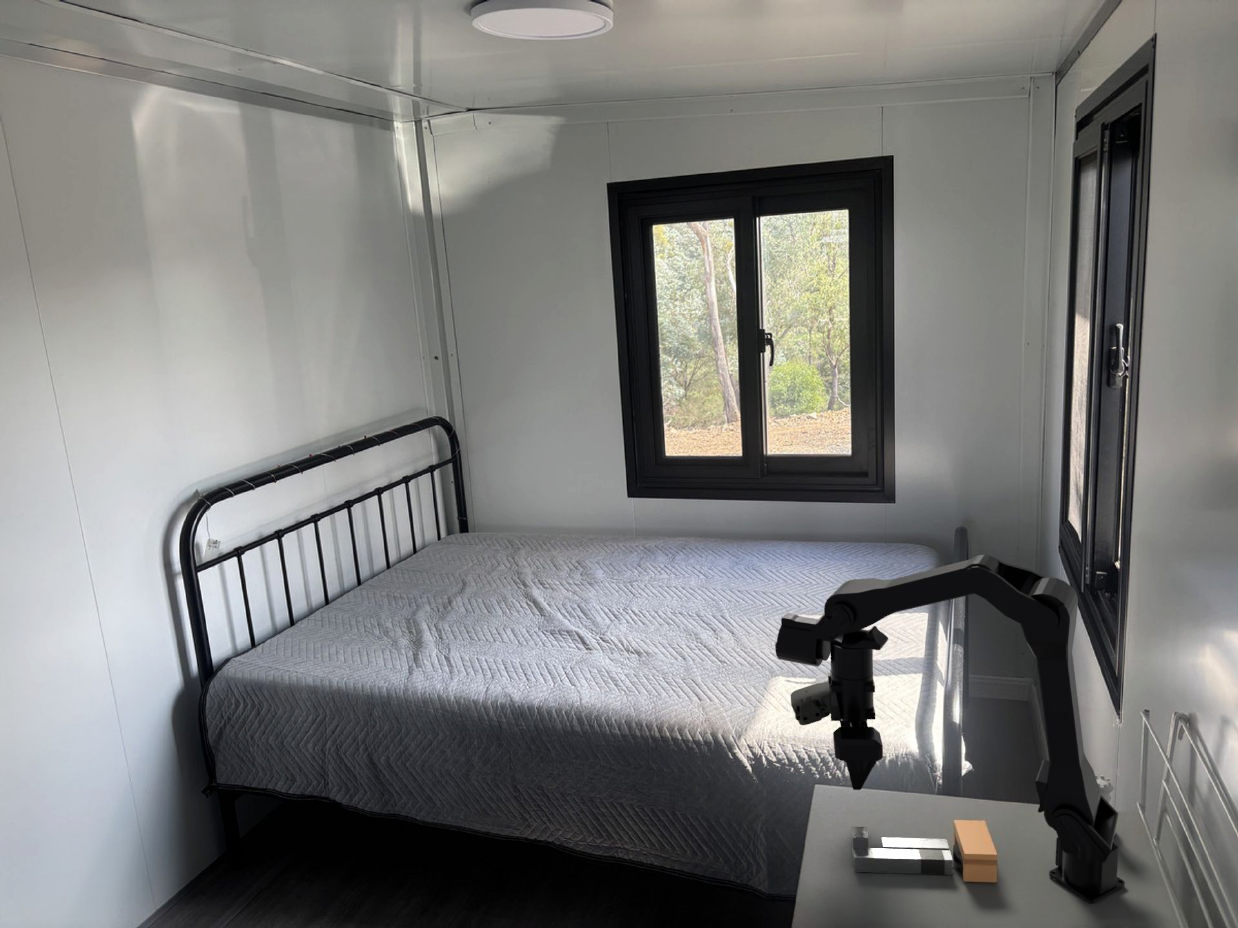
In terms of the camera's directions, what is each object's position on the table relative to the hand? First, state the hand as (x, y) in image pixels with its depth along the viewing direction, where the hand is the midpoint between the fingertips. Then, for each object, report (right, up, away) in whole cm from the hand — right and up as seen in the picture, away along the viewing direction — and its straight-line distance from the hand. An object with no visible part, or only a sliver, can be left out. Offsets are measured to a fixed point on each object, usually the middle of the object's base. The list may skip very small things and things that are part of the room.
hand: (853, 770), depth 137 cm
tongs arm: (+4, -10, -9) cm, 14 cm away
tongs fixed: (+8, -9, -9) cm, 16 cm away
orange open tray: (+14, -9, -10) cm, 19 cm away
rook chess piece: (+32, -7, -5) cm, 34 cm away
